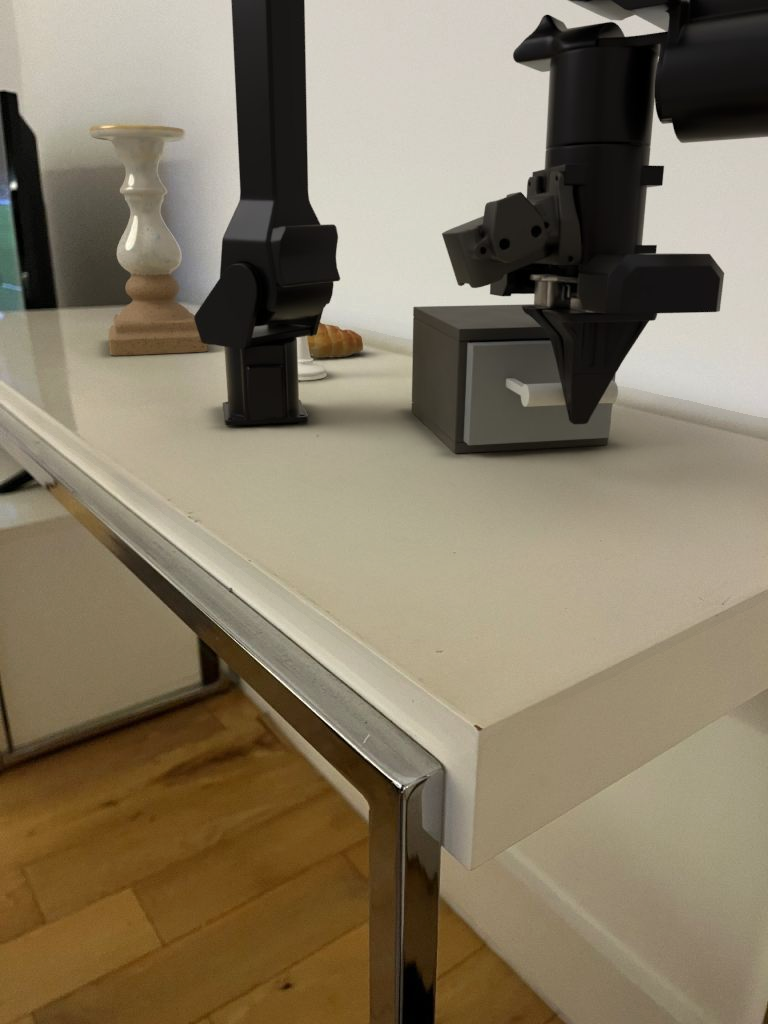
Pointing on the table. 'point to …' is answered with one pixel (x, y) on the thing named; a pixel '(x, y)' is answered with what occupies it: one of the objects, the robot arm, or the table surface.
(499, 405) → the drawer
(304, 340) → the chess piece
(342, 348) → the pastry
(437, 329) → the small drawer cabinet
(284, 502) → the table surface
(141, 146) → the candle holder
